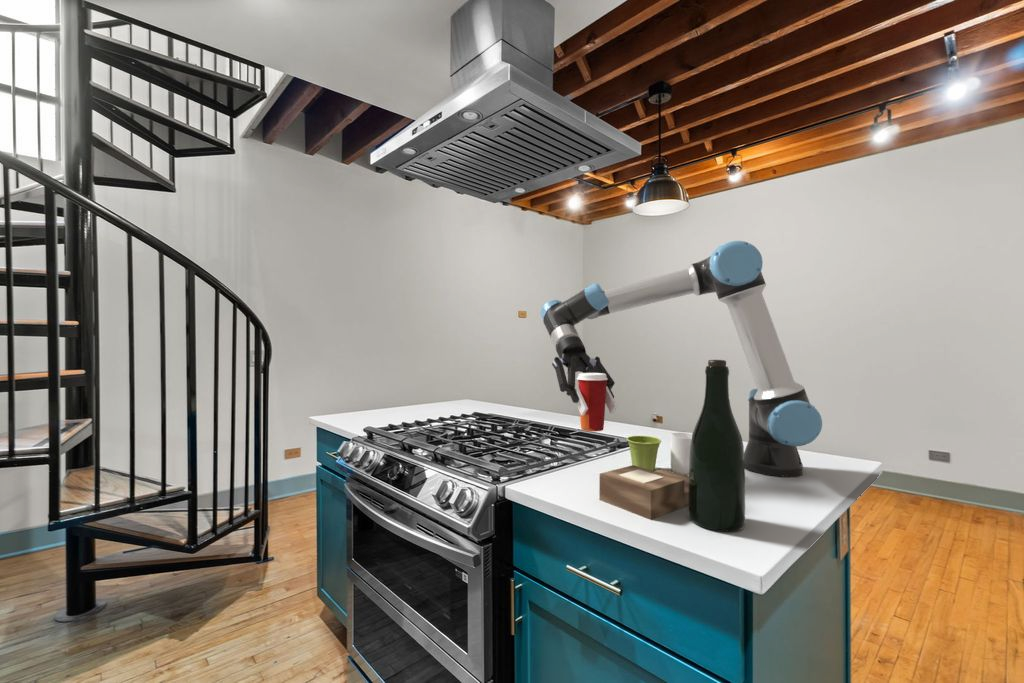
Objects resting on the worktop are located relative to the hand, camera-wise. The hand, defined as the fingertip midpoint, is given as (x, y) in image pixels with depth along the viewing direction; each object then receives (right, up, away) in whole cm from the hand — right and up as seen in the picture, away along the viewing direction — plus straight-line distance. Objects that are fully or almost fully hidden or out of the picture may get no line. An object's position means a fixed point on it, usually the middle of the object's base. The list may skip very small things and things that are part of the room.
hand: (599, 411), depth 109 cm
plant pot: (+16, -20, +18) cm, 31 cm away
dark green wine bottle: (+20, -20, -19) cm, 34 cm away
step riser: (+12, -19, -5) cm, 24 cm away
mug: (+27, -20, +14) cm, 37 cm away
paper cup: (-1, -5, +3) cm, 6 cm away
